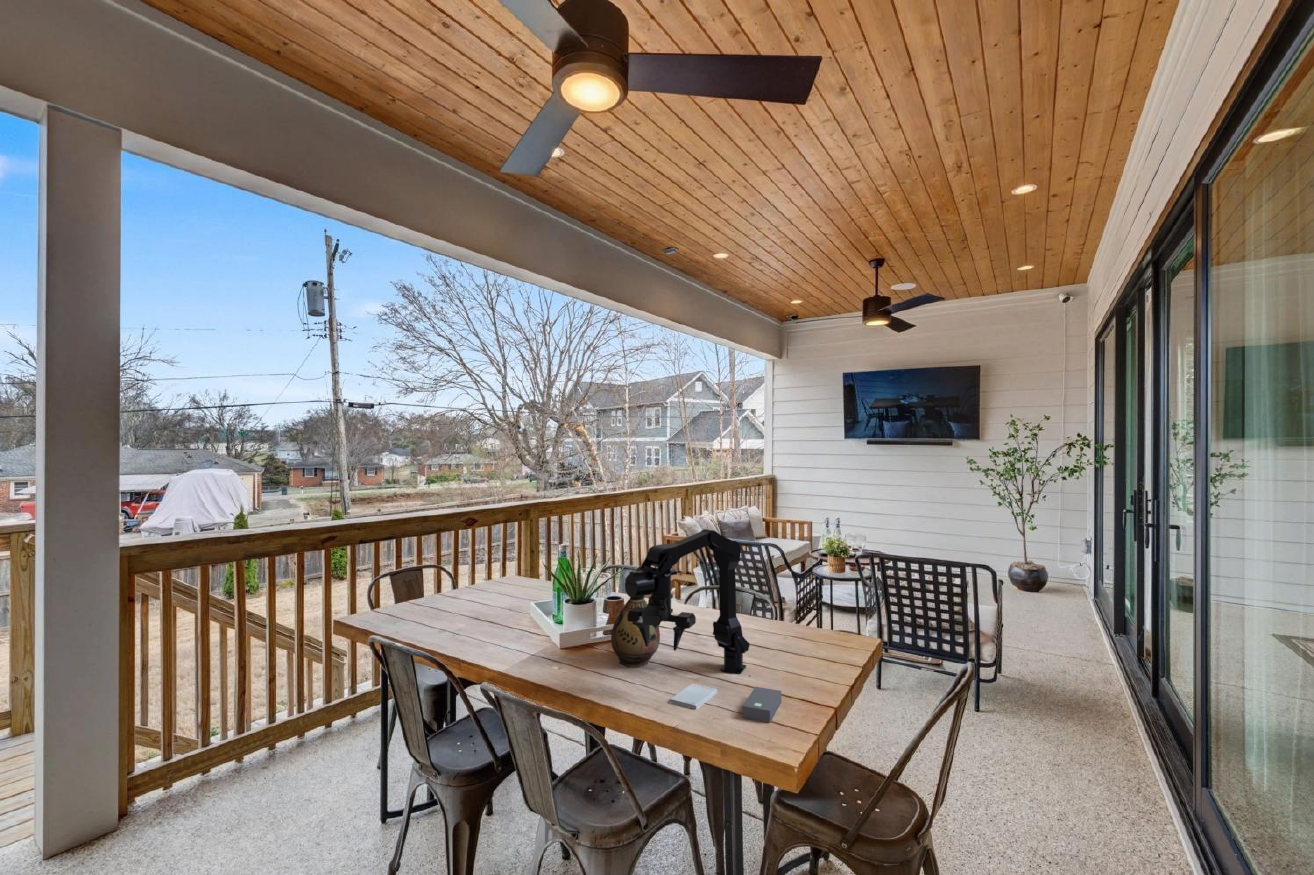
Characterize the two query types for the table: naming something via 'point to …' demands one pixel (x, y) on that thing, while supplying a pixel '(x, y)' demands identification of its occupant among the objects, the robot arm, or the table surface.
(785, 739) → the table surface
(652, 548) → the robot arm
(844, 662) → the table surface
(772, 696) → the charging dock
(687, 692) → the hard drive
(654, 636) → the ceramic jug
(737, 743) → the table surface
